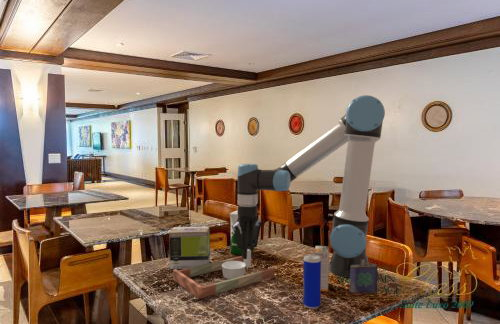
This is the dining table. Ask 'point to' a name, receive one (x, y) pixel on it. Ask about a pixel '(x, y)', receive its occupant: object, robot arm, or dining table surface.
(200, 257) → the tea box
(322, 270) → the supplement box
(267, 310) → the dining table surface
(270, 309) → the dining table surface
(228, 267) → the ramekin
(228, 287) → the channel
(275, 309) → the dining table surface
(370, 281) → the flask
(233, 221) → the milk carton
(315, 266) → the beverage can
